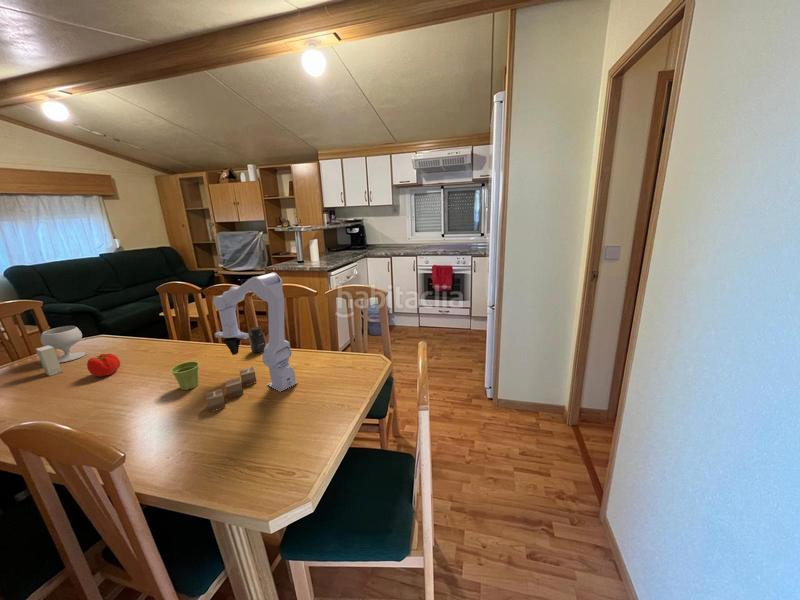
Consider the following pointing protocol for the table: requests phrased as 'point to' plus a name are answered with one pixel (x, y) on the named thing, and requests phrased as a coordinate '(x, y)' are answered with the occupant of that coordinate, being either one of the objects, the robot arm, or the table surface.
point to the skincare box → (49, 360)
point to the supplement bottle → (257, 340)
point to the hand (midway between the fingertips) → (235, 353)
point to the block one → (215, 400)
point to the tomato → (103, 365)
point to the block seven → (247, 376)
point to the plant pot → (186, 374)
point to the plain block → (234, 387)
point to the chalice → (63, 341)
